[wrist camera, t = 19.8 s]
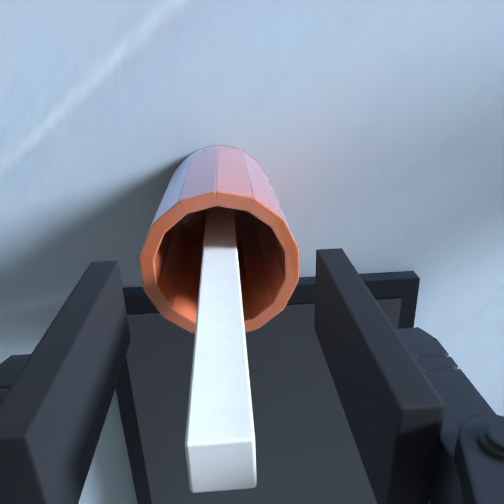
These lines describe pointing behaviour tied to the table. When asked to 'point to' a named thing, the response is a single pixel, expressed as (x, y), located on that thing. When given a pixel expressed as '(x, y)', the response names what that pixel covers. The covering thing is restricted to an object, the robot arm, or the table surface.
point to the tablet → (263, 403)
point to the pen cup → (192, 236)
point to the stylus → (220, 370)
